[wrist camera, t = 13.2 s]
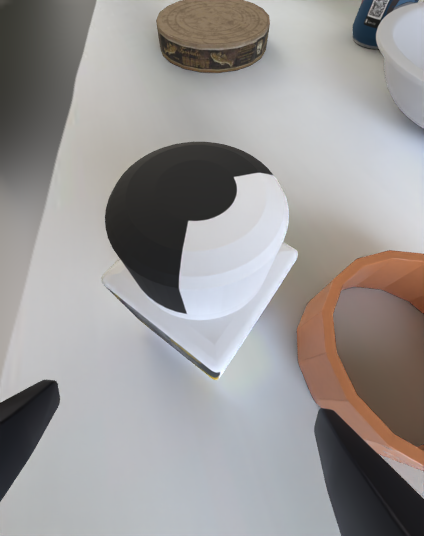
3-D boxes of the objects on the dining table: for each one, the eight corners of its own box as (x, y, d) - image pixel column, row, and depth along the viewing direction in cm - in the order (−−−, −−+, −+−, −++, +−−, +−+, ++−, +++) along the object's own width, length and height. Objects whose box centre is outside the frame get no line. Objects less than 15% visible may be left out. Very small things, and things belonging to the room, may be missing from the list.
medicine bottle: (137, 318, 18) (24, 207, 7) (197, 250, 20) (180, 95, 10) (216, 382, 16) (225, 362, 5) (271, 298, 18) (353, 170, 8)
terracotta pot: (348, 487, 13) (406, 527, 9) (272, 301, 18) (289, 275, 14) (513, 423, 15) (625, 435, 11) (401, 266, 20) (450, 233, 16)
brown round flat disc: (138, 54, 36) (132, 27, 33) (196, 15, 42) (195, -11, 39) (234, 84, 32) (236, 56, 29) (282, 36, 38) (287, 9, 35)
